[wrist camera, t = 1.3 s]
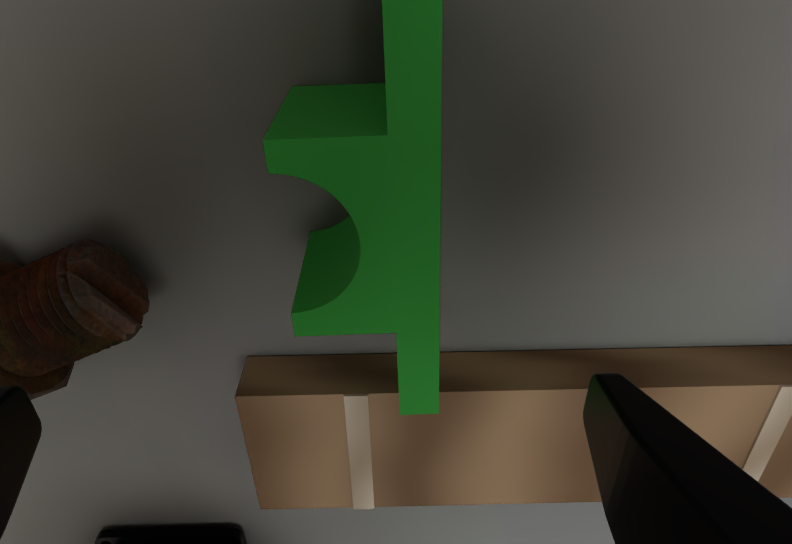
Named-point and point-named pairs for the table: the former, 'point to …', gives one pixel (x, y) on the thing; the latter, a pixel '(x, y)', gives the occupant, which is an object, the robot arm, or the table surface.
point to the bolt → (65, 313)
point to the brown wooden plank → (494, 423)
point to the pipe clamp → (375, 199)
